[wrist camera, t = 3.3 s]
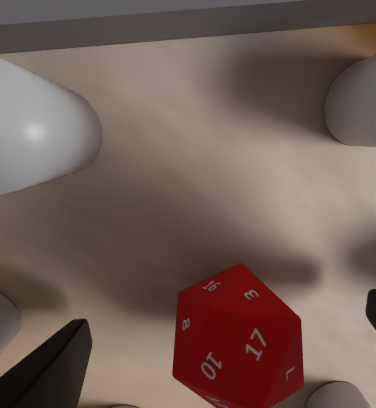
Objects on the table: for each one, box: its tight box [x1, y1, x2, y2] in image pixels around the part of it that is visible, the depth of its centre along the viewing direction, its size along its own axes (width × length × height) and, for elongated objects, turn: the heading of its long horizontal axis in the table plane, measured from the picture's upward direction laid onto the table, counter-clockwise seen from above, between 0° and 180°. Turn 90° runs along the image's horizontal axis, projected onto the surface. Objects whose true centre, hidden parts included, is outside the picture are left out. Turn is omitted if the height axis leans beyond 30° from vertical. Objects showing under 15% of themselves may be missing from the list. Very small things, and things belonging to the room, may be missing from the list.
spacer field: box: [0, 0, 376, 408], centre depth 7 cm, size 22×18×3 cm
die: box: [172, 263, 304, 408], centre depth 7 cm, size 4×3×4 cm
